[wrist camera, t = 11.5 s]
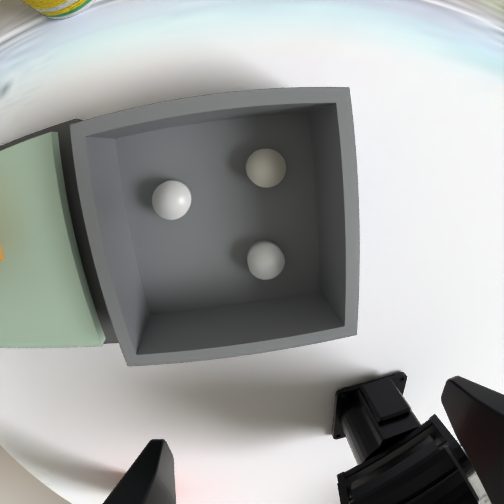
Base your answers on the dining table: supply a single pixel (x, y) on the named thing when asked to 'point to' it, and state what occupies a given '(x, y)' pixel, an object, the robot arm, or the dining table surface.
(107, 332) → the mat
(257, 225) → the tub
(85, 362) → the dining table surface
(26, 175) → the lid
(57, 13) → the supplement bottle
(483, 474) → the robot arm
